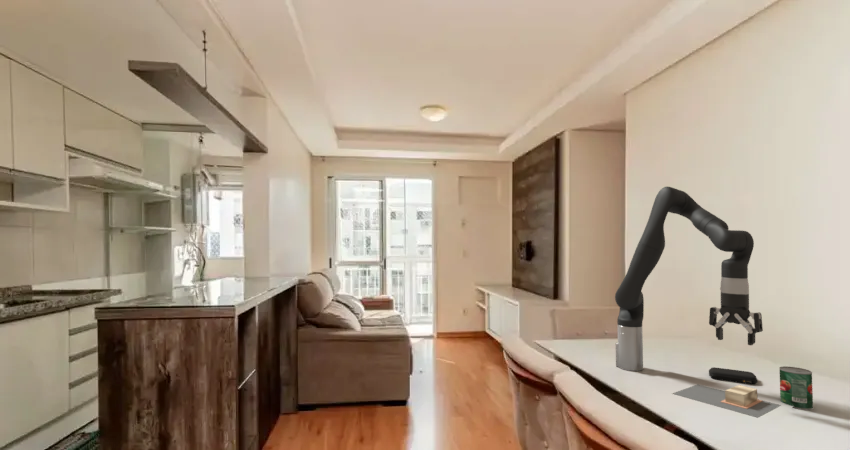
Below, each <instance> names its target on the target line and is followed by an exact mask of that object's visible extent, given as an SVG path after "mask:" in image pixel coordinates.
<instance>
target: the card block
mask: <svg viewBox="0 0 850 450" xmlns="http://www.w3.org/2000/svg"><path fill="white" fill-rule="evenodd" d="M724 391H725V401H726V402H728V403H732V404H736V405H740V406H743V407H744V406H747V405H749V404H751V403H753V402H755V401H757V399H758V389H757V388H755V387H754V388H753V387H749V386H745V385H742V384H741V385H740V384H738V385H735V386H733V387H730V388H727V389H724Z"/></svg>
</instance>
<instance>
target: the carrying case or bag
mask: <svg viewBox="0 0 850 450" xmlns="http://www.w3.org/2000/svg"><path fill="white" fill-rule="evenodd" d="M708 376H709V377H710V379H713V380H716V381H717V380H718V381H725V382H732V383H740V384H745V383H746V384H747V385H756V384H757V383H758V381H759V380H758V378H757V376H756V375H755V374H754V373H753V372H751V371H745V370H738V369H731V368H721V367H714V366H713V367H711V368H709V369H708Z"/></svg>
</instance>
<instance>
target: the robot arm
mask: <svg viewBox="0 0 850 450" xmlns="http://www.w3.org/2000/svg"><path fill="white" fill-rule="evenodd" d="M668 213H669V214H674V215H675V214H676V215H678V216H682V217H684V218H686V219H688V220H689V221H690V222H691V224H692V225H693V226H694V227H695V228H696V229H697V230H698V231H699V232H701V233H702V234H703V235H705V236H706V237H708V239H709V241H711V243H712V244H713V246H714V247H715V248H716V249H719V250H720V251H721V252H722V251H723V252H726V253H732V254H731V256H730V258H728V259H727V258H726V259H724V260H722V262H721V264H720V265H721V268H720V270H721V273H720V274H721V279H720V286H719V287H720V288H719V290H720V308H718V307H716V306H713V307H709V317H708V319H709V320H708V324H709V325H710V326H713V327H714V328H715V337H716V338H717V340H718V341H723V340H724V328H723V326H725V324H726V323H728V324H736V325H741V326H742V327H743V328H744V329H745V330H746V331H747V332H748V333H747V345H748V346H753V345H755V343H756V335H757V334H756V333H760V332H761V333H762V332H763V331H764V330H763V329H764V328H763V319H762V313H761V312H751V311H750V285H749V278H748V277H749V268H748V267H749V264H750V260H751V257H752V253H753V250H754V246H755V245H754V244H755V242H754V238H753V236H752V234H751V233H750V232H748V231H747V230H739V229H738V230H736V229H735V230H730V229H729V225H728V224H727V222H726V221H724V220H723V219H721V218H720V217H719V216H717V215H715V214H713V213H711V212H710V211H708V210H706V209H705V208H704V207H702V206H701V205H699V203H698V202H696V201H695V200H694V199H693V198H692V196H690V194H689V193H687V192H686V191H683V190H681V189H677V188H675V187H671V186H664V187H662V188H661V189H659V191H658V192H657V194H656V196H655V199H654V201H653V205H652V207H651V211H650V214H649V216H648V217H649V218H648V220H647V221H646V225H645V228H644V230H643V232H642V234H641V237H640V239H639V241H638V244H637V246H636V247H635V250H634V253H633V256H632V258H631V261H630V264H629V266H628V269H627V272H626V274H625V275H624V276H625V277H624V278H623V280H622V281H621V283H620V285H619V286H618V288H617V289H616V292H615V295H614V299H615V303H616V305H617V306H618V307H619V313H618V317H617V321H616V322H617V342H615V366H616V367H618V368H620V369H622V370H626V371H631V372H632V371H634V372H637V371H638V372H639V371H640V372H641V371H643V370H644V344H643V342H644V341H643V337H644V336H643V320H644V312H645V311H644V310H645V309H644V307H645V302H644V301H645V300H644V294H643V291H642V289H643V287H644V285H645V282H646V281H647V279H648V277H649V276H650V275H651V273H652V272H653V271H654V270H655V268H656V267H657V264H658V263H659V261H660V258H661V257H662V255H663V253H664V250H665V247H666V237H665V230H664V229H665V227H664V226H665V221H666V218H667V215H668ZM719 313H720V315H721V316H722V317H720V319H719V320H718V315H719ZM750 317H751V319H752V320H753V324H754V326H753V324H752V323H751V321H750V320H749V318H750ZM717 320H718V321H717Z"/></svg>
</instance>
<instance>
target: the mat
mask: <svg viewBox="0 0 850 450" xmlns="http://www.w3.org/2000/svg"><path fill="white" fill-rule="evenodd" d="M671 394H672V395H674V396H677V397H678V396H679V397H681V398H686V399H689V400H692V401H697V402H700V403H704V404H706V405H710V406H713V407H716V408H717V407H718V408H721V409H724V410H729V411H731V412H732V411H733V412H735V413H739V414H742V415H747V416H750V417H753V418H757V419H758V418H761V416H764V415H765V414H767V413H769V412H771V411H773V410H775V409H777V408H779V407H780V406H781V407H782V404H779V403H775V402H770V401H766V400H762V399H758V398H757V401H755V402H753V403H751V404H749V405H747V406H744V407H743V406H740V405H736V404H732V403H728V402H726V401H725V390H724V389H723V390H722V389H720V388H714V387H711V386H707V385H703V384H699V383H697V384H695V385H694V384H693V385H692V386H690V387H687V388H683V389H681V390H678V391H674V392H673V393H671Z"/></svg>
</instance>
